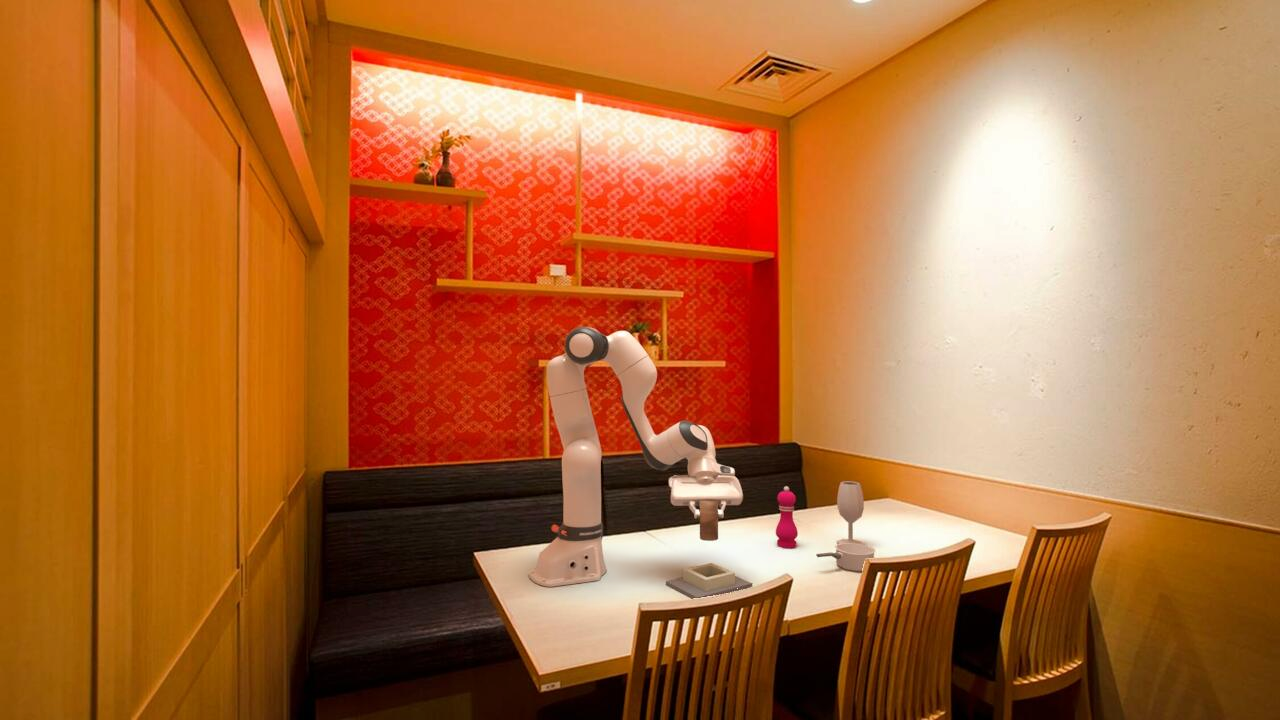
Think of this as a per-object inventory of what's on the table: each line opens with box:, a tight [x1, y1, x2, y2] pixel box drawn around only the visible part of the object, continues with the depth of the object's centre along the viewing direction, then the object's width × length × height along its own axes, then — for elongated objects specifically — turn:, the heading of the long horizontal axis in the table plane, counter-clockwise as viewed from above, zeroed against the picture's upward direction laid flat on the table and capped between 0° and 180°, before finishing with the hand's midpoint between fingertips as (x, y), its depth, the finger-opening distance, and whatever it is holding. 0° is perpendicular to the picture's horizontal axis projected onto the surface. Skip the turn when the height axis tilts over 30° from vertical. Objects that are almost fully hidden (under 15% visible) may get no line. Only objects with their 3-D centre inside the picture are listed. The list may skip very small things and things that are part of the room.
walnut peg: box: [699, 500, 719, 542], centre depth 162 cm, size 5×5×10 cm
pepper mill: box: [775, 485, 799, 549], centre depth 200 cm, size 7×7×20 cm
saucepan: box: [816, 543, 876, 572], centre depth 177 cm, size 12×20×6 cm, turn 114°
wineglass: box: [836, 481, 866, 545], centre depth 201 cm, size 9×9×21 cm
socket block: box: [665, 562, 753, 600], centre depth 162 cm, size 19×14×4 cm
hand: (709, 517), depth 162 cm, fingers closed on walnut peg, 5 cm apart
